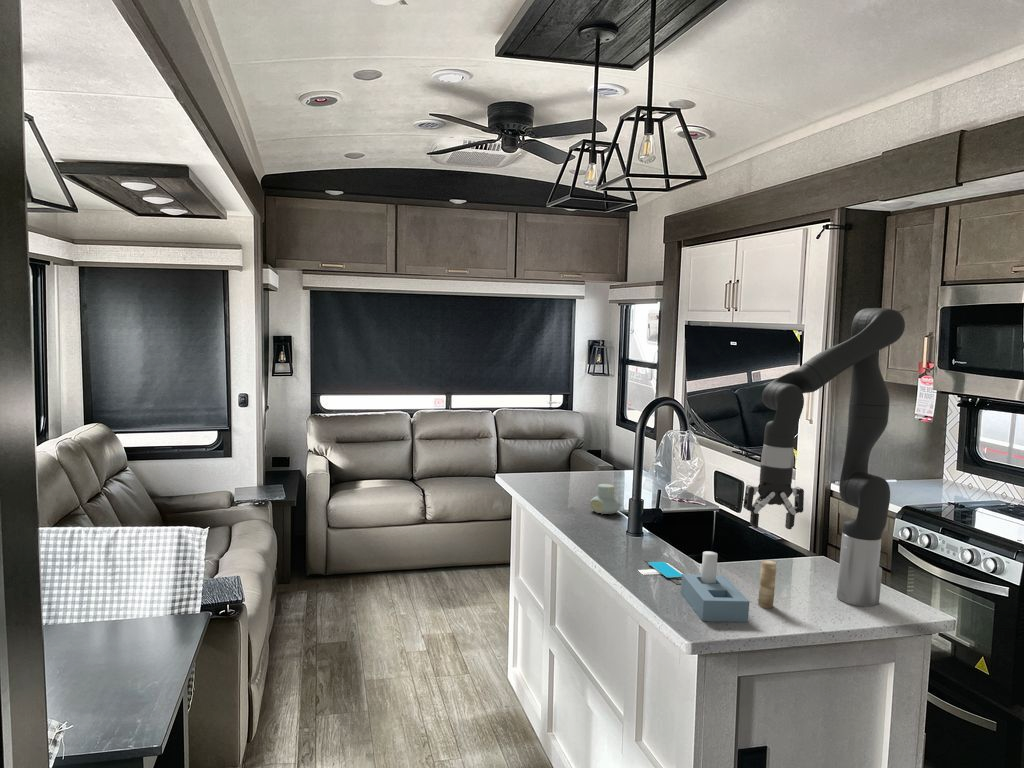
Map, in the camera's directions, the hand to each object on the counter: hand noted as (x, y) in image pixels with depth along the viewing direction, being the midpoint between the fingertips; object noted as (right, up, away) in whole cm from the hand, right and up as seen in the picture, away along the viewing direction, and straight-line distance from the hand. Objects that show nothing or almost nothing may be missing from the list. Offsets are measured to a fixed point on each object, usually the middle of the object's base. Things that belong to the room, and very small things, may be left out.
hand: (771, 528), depth 188 cm
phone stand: (-23, -17, +23) cm, 37 cm away
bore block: (-15, -19, -1) cm, 24 cm away
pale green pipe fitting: (-31, -11, +85) cm, 91 cm away
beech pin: (-1, -20, +2) cm, 20 cm away
